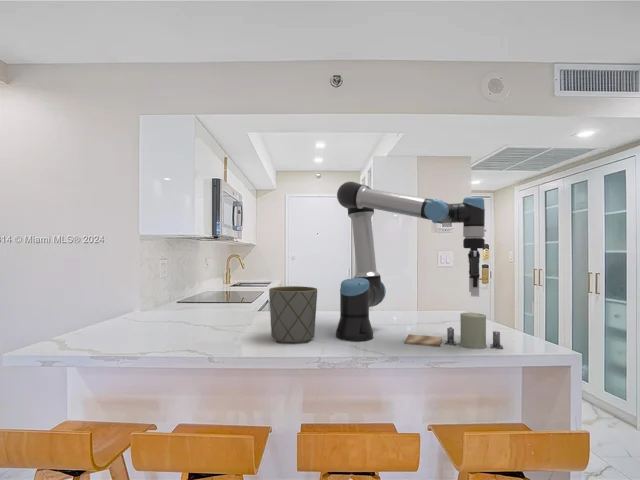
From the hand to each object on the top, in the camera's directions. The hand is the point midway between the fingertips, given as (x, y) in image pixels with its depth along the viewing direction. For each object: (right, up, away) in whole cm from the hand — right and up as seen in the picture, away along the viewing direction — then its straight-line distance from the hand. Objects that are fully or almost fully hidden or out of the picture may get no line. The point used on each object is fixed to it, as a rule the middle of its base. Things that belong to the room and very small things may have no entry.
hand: (473, 294), depth 146 cm
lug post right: (+7, -19, -4) cm, 21 cm away
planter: (-69, -19, +7) cm, 72 cm away
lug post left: (-8, -19, +1) cm, 21 cm away
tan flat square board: (-18, -19, +5) cm, 26 cm away
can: (-1, -19, -1) cm, 19 cm away
